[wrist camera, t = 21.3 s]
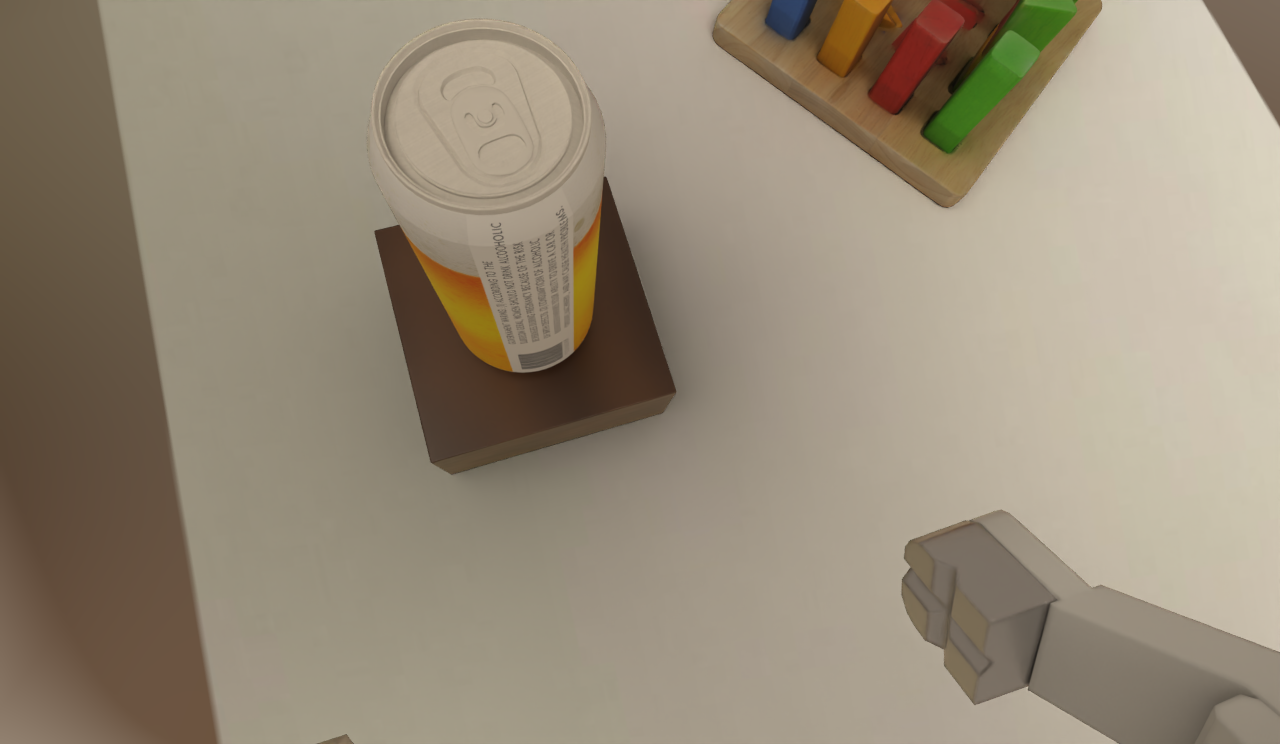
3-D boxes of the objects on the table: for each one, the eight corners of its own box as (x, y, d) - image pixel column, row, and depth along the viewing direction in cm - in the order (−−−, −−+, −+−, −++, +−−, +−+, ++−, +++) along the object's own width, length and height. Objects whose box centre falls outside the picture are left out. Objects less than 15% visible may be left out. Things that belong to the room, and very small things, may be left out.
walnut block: (450, 474, 34) (430, 463, 30) (400, 271, 37) (373, 230, 32) (663, 412, 36) (677, 392, 31) (602, 222, 38) (606, 175, 34)
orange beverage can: (557, 228, 33) (542, -26, 18) (615, 341, 32) (650, 167, 17) (434, 280, 32) (314, 53, 17) (490, 400, 30) (414, 265, 16)
